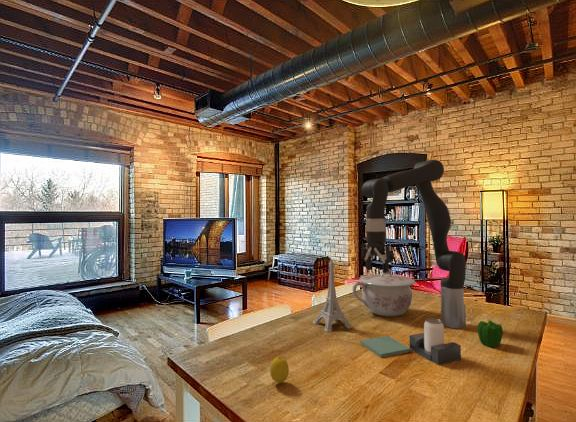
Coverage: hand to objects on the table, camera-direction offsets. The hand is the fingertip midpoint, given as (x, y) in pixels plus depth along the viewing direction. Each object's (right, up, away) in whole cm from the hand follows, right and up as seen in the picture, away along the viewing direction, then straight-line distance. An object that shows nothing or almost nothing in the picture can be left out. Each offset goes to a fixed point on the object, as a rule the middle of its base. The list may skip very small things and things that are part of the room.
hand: (376, 271), depth 126 cm
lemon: (-38, -28, -30) cm, 56 cm away
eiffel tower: (-15, -29, +19) cm, 38 cm away
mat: (+1, -28, -6) cm, 28 cm away
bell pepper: (+42, -28, -4) cm, 51 cm away
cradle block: (+17, -28, -12) cm, 35 cm away
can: (+17, -28, -12) cm, 35 cm away
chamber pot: (+15, -28, +36) cm, 48 cm away
